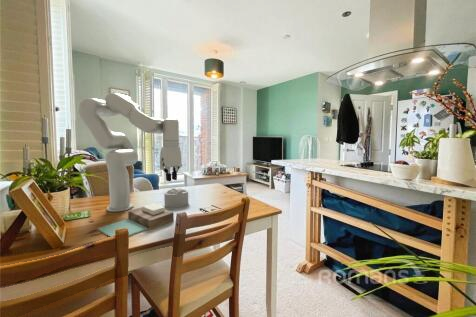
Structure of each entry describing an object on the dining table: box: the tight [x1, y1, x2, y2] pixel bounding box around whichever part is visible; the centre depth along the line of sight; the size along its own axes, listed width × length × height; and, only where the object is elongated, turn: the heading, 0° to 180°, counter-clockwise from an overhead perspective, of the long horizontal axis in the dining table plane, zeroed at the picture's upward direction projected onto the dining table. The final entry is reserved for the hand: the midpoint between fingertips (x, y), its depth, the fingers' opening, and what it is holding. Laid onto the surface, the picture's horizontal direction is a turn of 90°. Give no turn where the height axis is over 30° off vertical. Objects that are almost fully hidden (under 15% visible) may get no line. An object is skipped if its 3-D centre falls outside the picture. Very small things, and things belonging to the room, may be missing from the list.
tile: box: [141, 202, 166, 215], centre depth 102 cm, size 9×6×2 cm, turn 54°
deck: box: [127, 206, 175, 230], centre depth 101 cm, size 18×12×4 cm, turn 54°
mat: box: [97, 218, 149, 237], centre depth 91 cm, size 16×13×1 cm
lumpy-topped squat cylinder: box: [164, 187, 189, 208], centre depth 125 cm, size 10×13×9 cm
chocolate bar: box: [199, 204, 222, 213], centre depth 114 cm, size 9×1×18 cm
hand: (171, 180), depth 109 cm, fingers open, 2 cm apart
